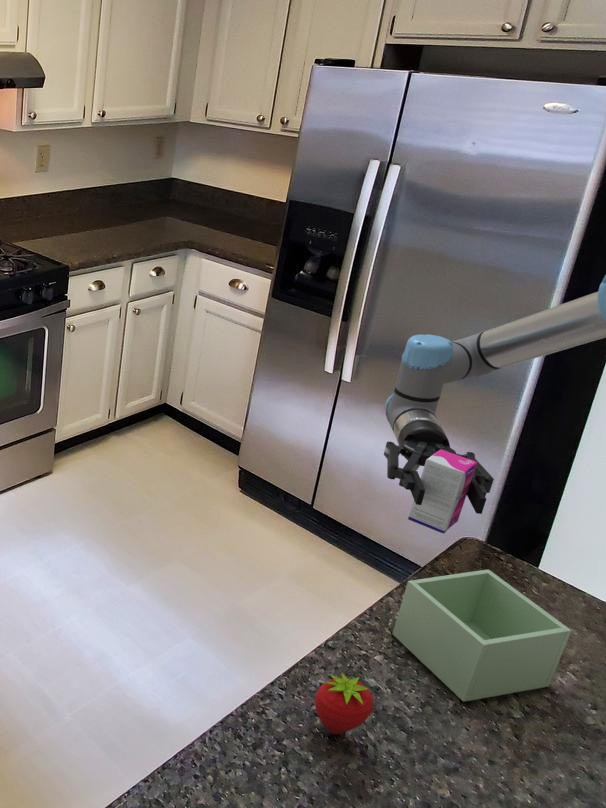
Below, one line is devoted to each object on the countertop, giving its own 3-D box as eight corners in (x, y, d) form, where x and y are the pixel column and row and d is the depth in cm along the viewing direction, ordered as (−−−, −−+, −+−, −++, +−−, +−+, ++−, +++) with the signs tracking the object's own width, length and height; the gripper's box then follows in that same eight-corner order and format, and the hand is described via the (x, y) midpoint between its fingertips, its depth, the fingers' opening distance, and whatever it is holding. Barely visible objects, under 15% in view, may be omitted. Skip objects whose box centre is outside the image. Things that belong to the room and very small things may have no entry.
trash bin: (470, 621, 121) (488, 569, 117) (548, 686, 109) (572, 630, 105) (392, 634, 119) (407, 580, 114) (463, 702, 106) (483, 645, 102)
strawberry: (375, 740, 101) (394, 680, 97) (332, 760, 98) (349, 700, 94) (337, 707, 106) (353, 649, 101) (295, 726, 103) (310, 667, 99)
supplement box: (445, 535, 127) (464, 472, 122) (406, 519, 131) (423, 458, 126) (459, 522, 130) (478, 460, 125) (421, 507, 134) (438, 447, 130)
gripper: (480, 465, 142) (519, 533, 122) (354, 448, 148) (372, 511, 128) (491, 427, 139) (534, 491, 119) (362, 412, 145) (383, 470, 125)
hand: (450, 501), depth 124 cm, fingers closed on supplement box, 8 cm apart
